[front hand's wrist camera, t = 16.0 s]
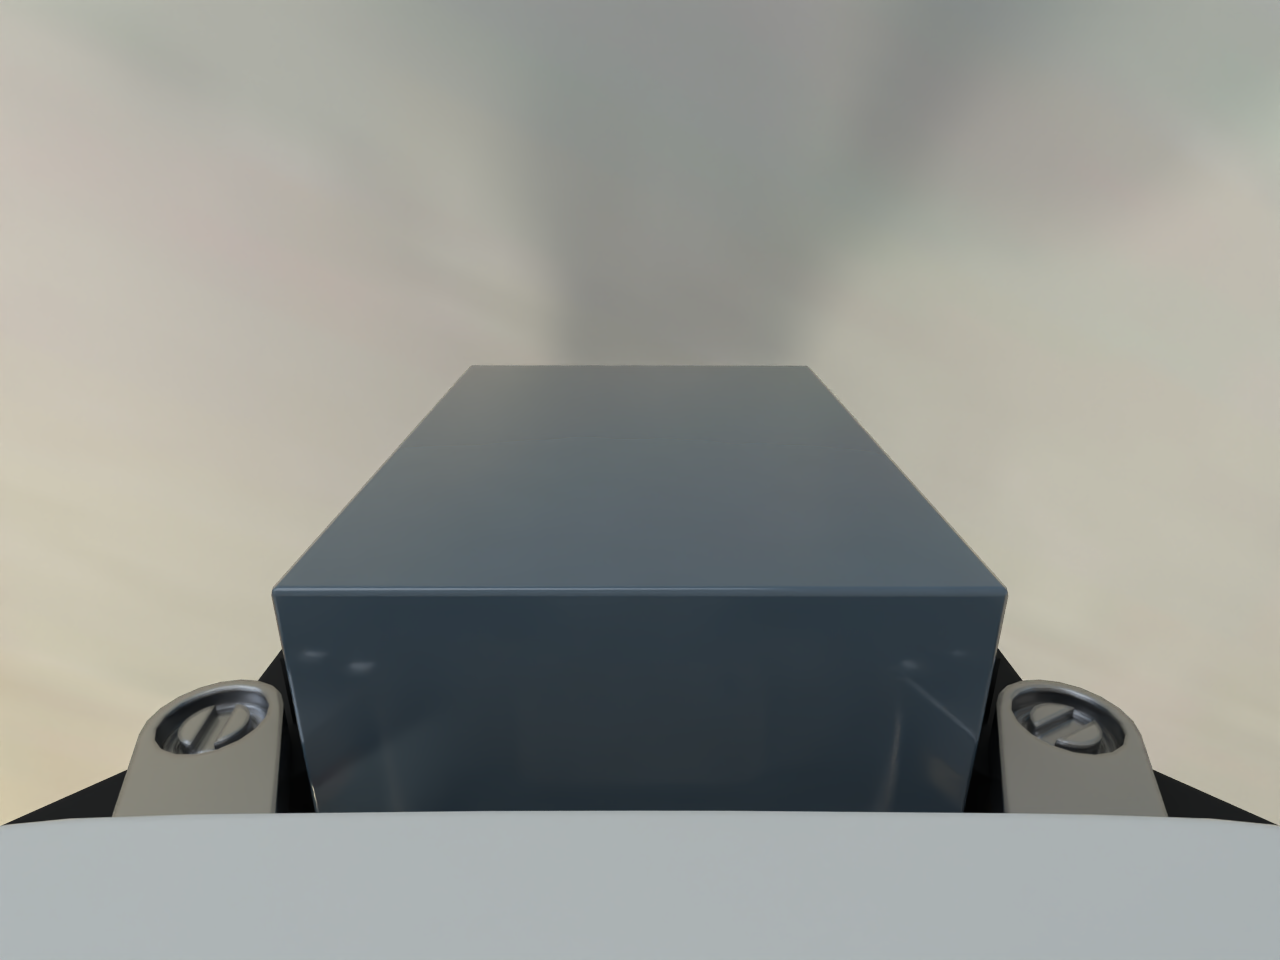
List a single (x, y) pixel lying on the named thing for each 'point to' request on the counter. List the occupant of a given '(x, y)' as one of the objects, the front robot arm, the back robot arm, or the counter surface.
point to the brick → (639, 607)
